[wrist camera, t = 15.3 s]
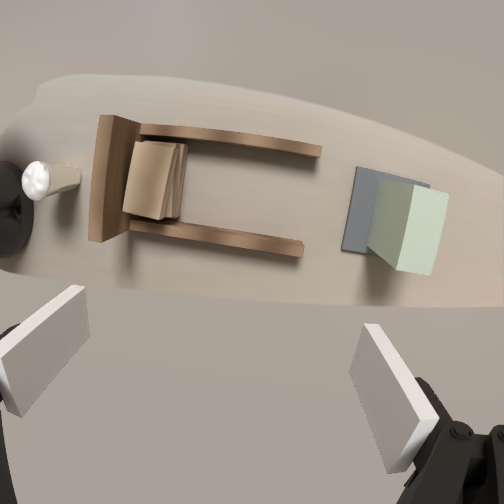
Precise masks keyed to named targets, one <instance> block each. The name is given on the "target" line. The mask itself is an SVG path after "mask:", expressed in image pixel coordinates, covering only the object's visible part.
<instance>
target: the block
mask: <svg viewBox="0 0 504 504" xmlns="http://www.w3.org/2000/svg"><path fill="white" fill-rule="evenodd" d="M448 199H449V194H446V193H443V192H439V191H436V190H432V189H429V188H425V187H422V186H418V185H414V184H407V183H399V182H391V181H383V180H379V185H378V191H377V196H376V202H375V207H374V212H373V217H372V222H371V227H370V232H369V236H368V241H367V246H368V247H369V248H370V249H372V250H373V251H374V252H375V253H377V254H378V255H379V256H380V257H381V258H383V259H384V260H385V261H386V262H387V263H389V264H390V265H391V266H392V267H393V268H394V269H396V270H400V271H406V272H412V273H418V274H424V275H430V276H431V272H432V269H433V265H434V261H435V258H436V254H437V250H438V246H439V241H440V237H441V233H442V228H443V224H444V219H445V214H446V209H447V204H448Z"/></svg>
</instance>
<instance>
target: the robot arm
mask: <svg viewBox="0 0 504 504" xmlns="http://www.w3.org/2000/svg"><path fill="white" fill-rule="evenodd" d="M22 176H23V173H22V172H21V171H20V170H19V168H17V167H16V166H15V165H14V164H12V163H9V162H0V258H6V257H9V256H11V255H14V254H16V253H18V252H19V251H20V250H21V249H22V248H23V247H24V246H25V244H26V242H27V241H28V238H29V236H30V233H31V229H32V223H33V202H32V199H30V198H29V197H27V195H26V194H25V192H24V190H23V188H22ZM89 337H90V331H89V322H88V312H87V299H86V287H82V286H78V285H71V286H70V287H69V288H67V289H66V290H65V291H63V292H62V293H61V294H59V295H58V296H56V297H55V298H54V299H52V300H51V301H50V302H48V303H47V304H46V305H45V306H43V307H42V308H41V309H39V310H38V311H37V312H35V313H34V314H33V315H31V316H30V317H29V318H27V319H26V320H25V321H24V322H22V323H21V324H20V323H19V324H17V325H14V326H12V327H10V328H9V329H7V330H6V331H5V332H3V334H1V335H0V402H1V401H2V400H3V401H4V404H5V406H6V409H7V411H8V412H10V413H12V414H14V415H16V416H19V417H21V418H22V417H23V416H24V415H25V413H26V412H27V411H28V410H29V408H30V407H31V406H32V405H33V403H34V402H35V401H36V400H37V398H38V397H39V396H40V395H41V394H42V392H43V391H44V390H45V389H46V387H47V386H48V385H49V384H50V383H51V381H52V380H53V379H54V378H55V377H56V375H57V374H58V373H59V372H60V371H61V370H62V368H63V367H64V366H65V365H66V364H67V363H68V361H69V360H70V359H71V358H72V357H73V355H74V354H75V353H76V352H77V351H78V350H79V349H80V347H81V346H82V345H83V344H84V343H85V342H86V341H87V340H88V338H89ZM349 373H350V376H351V378H352V381H353V383H354V386H355V388H356V391H357V393H358V396H359V399H360V401H361V404H362V406H363V409H364V412H365V414H366V417H367V420H368V422H369V425H370V428H371V430H372V432H373V436H374V438H375V441H376V444H377V447H378V449H379V452H380V455H381V458H382V460H383V463H384V466H385V469H386V472H387V474H392V473H399V472H405V471H406V470H407V469H408V467H409V466H410V465H411V463H412V462H414V465H415V467H416V470H415V471H414V472H413V474H412V475H411V476H410V478H409V479H408V481H407V482H406V483H405V484H404V486H405V489H404V491H403V493H402V495H401V496H400V498H399V500H398V502H397V503H396V504H504V425H497V426H495V427H494V428H493V429H492V430H491V432H490V433H489V435H480V434H474V432H473V430H472V429H471V428H470V427H469V426H468V425H467V424H465V423H463V422H459V421H453V420H452V418H451V417H450V415H449V414H448V413H447V411H446V409H445V408H444V406H443V405H442V403H441V401H440V400H438V399H439V398H438V397H437V395H436V394H434V391H433V390H432V388H431V387H430V385H429V384H428V383H427V382H425V381H424V380H423V379H422V378H420V377H418V378H414V377H413V375H412V374H411V372H410V371H409V369H408V368H407V366H406V365H405V363H404V362H403V360H402V359H401V357H400V356H399V354H398V353H397V351H396V350H395V348H394V347H393V345H392V344H391V342H390V341H389V339H388V338H387V336H386V335H385V333H384V332H383V330H382V329H381V328H380V326H379V325H378V324H365V323H364V324H363V328H362V331H361V334H360V338H359V341H358V344H357V348H356V351H355V354H354V357H353V361H352V364H351V367H350V370H349ZM0 504H17V500H16V496H15V492H14V488H13V484H12V480H11V475H10V470H9V465H8V460H7V454H6V448H5V442H4V435H3V427H2V419H1V411H0Z"/></svg>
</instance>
